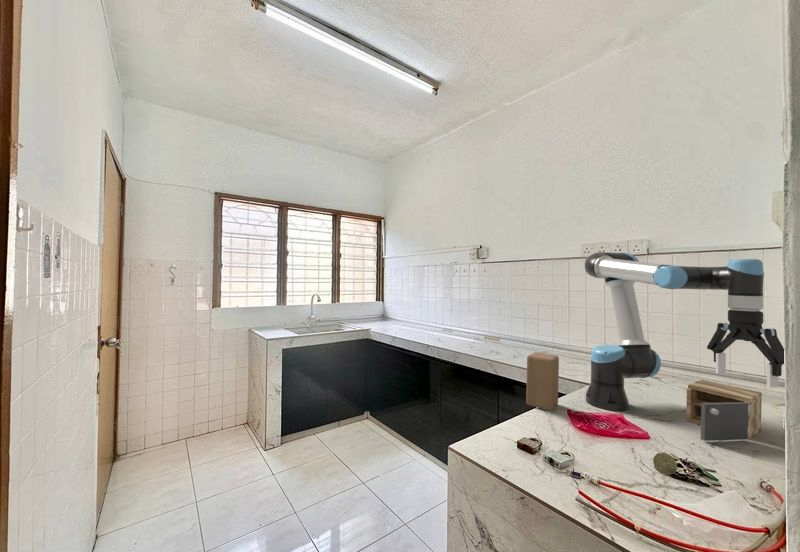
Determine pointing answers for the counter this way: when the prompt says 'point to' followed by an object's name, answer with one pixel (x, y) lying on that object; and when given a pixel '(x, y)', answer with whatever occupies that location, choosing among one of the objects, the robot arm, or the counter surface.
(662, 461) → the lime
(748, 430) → the door
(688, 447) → the counter surface
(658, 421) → the counter surface
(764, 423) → the counter surface
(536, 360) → the wooden block
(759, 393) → the box
